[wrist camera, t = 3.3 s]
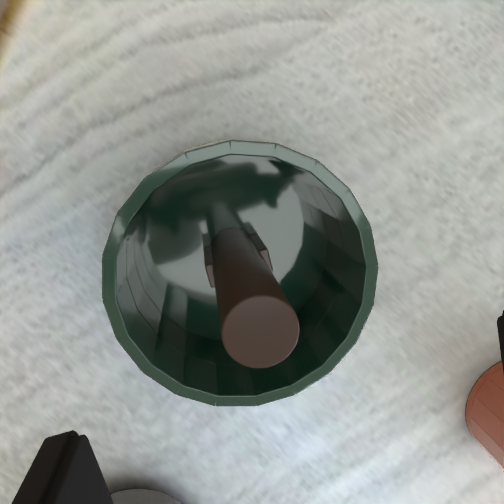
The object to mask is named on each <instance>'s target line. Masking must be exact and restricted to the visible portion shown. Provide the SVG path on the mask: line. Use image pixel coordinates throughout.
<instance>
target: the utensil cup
mask: <svg viewBox="0 0 504 504" xmlns="http://www.w3.org/2000/svg"><path fill="white" fill-rule="evenodd" d="M466 421H467V426H468V428H469V431H470V433H471V435H472V436H473V438H474V439H475V440H476V441H477V442H478V443H479V445H480V446H481V447H482V449H483V450H484V451H485V452H486V453H487V454H488V455H489V456H490V457H491V458H492V459H493V461H494V462H495V463H496V464H497V465H498V466H499V467H500V468H501V469H502V470H503V471H504V374H503V366H502V361H501V362H499V363H497V364H496V365H494V366H493V367H491V368H490V369H489V370H487V371H486V372H485V373H484V374H483V375H482V376H481V377H480V378H479V380H478V381H477V382H476V384H475V385H474V387H473V388H472V391H471V393H470V395H469V398H468V401H467V405H466Z"/></svg>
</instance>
